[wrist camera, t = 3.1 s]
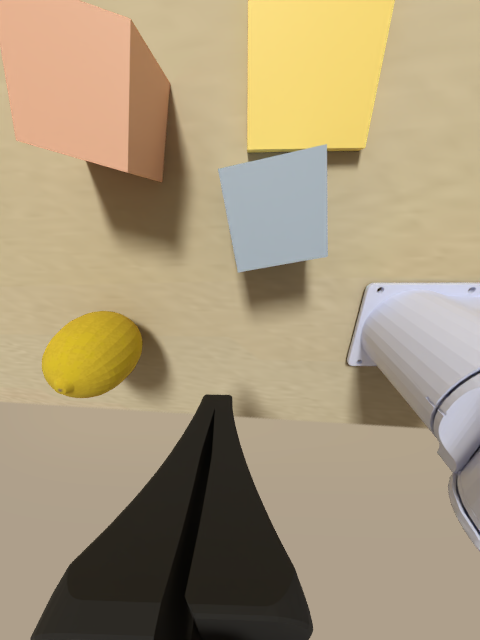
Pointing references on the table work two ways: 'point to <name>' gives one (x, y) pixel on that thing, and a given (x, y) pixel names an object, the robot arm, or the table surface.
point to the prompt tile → (313, 72)
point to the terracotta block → (84, 84)
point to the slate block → (277, 208)
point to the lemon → (92, 354)
